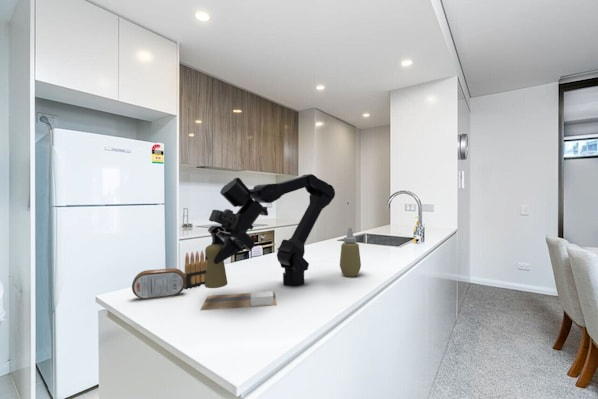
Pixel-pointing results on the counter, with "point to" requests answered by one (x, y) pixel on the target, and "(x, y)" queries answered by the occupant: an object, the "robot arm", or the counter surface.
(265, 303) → the white rectangular prism
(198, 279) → the ammunition clip
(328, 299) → the counter surface
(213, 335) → the counter surface
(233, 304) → the oak plank
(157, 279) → the tin
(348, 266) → the squeeze bottle
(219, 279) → the cork
